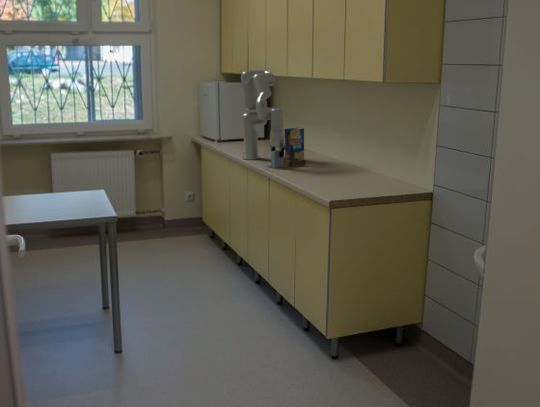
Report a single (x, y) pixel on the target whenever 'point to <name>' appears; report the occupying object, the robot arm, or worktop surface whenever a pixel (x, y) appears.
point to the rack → (294, 162)
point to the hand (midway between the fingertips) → (277, 156)
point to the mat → (278, 167)
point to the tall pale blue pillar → (276, 159)
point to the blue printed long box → (294, 143)
